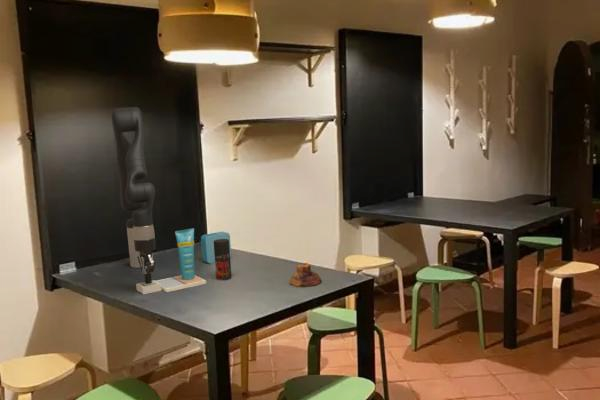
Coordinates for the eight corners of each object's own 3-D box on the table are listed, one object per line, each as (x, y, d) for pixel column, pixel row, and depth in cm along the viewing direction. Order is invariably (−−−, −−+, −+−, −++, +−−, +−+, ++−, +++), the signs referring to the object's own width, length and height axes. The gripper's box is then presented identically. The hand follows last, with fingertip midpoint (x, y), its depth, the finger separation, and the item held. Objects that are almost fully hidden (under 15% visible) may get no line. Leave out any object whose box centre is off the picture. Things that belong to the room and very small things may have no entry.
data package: (226, 257, 281) (224, 230, 279) (231, 259, 277) (229, 232, 276) (202, 262, 274) (200, 235, 272) (207, 264, 270) (205, 236, 268)
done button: (141, 289, 236) (141, 282, 235) (152, 287, 238) (151, 280, 237) (145, 291, 232) (145, 285, 232) (156, 289, 234) (155, 283, 234)
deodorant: (213, 278, 246) (210, 241, 244) (224, 275, 251) (222, 238, 248) (223, 281, 242) (220, 242, 240) (234, 277, 247) (232, 239, 244)
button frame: (136, 290, 236) (136, 283, 236) (154, 286, 240) (154, 280, 240) (143, 294, 230) (142, 287, 230) (161, 290, 234) (161, 283, 234)
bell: (298, 289, 227) (297, 270, 226) (284, 282, 238) (283, 263, 236) (327, 284, 232) (326, 264, 231) (312, 277, 242) (311, 258, 241)
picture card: (152, 284, 243) (152, 281, 243) (191, 276, 252) (190, 273, 252) (166, 292, 232) (166, 288, 231) (206, 283, 240) (206, 280, 240)
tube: (181, 281, 240) (177, 232, 237) (176, 279, 244) (172, 230, 241) (199, 277, 244) (196, 229, 241) (194, 275, 248) (190, 227, 245)
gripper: (128, 236, 235) (132, 281, 238) (140, 241, 225) (144, 288, 227) (147, 233, 240) (151, 277, 242) (160, 238, 229) (164, 284, 231)
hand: (148, 283), depth 235 cm, fingers closed
